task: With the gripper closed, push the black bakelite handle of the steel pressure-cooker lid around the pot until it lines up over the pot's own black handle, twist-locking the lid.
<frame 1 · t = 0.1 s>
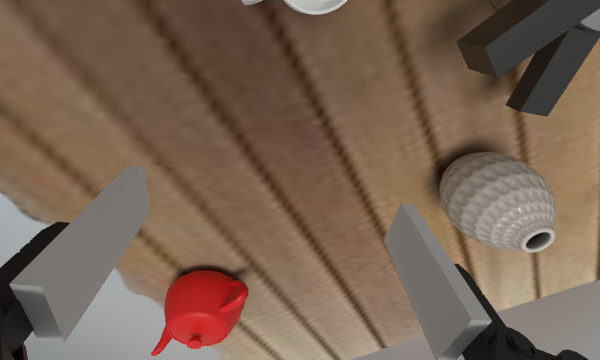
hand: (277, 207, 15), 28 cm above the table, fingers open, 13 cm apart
vase: (461, 171, 48), on the table
teapot: (207, 288, 60), on the table
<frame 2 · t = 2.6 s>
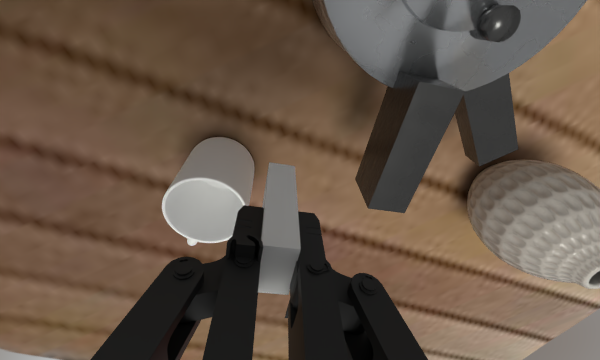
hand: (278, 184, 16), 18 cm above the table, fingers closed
vase: (491, 181, 41), on the table
cup: (218, 174, 37), on the table
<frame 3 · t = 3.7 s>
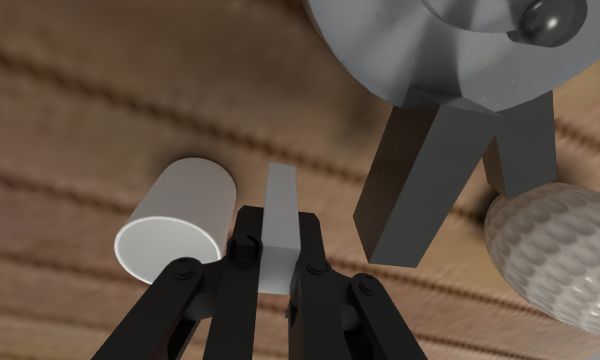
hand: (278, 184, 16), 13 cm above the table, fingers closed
vase: (511, 204, 35), on the table
cup: (195, 199, 32), on the table
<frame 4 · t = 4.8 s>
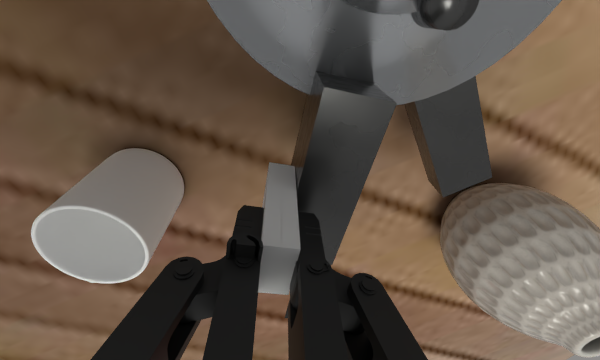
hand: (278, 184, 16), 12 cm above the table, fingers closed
vase: (470, 205, 35), on the table
cup: (143, 192, 31), on the table
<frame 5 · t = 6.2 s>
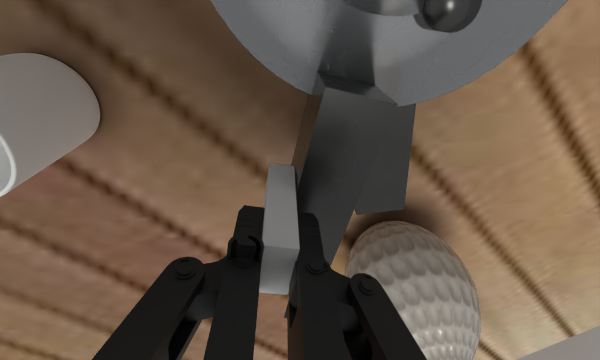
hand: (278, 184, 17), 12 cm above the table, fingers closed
vase: (383, 238, 37), on the table
cup: (46, 112, 26), on the table
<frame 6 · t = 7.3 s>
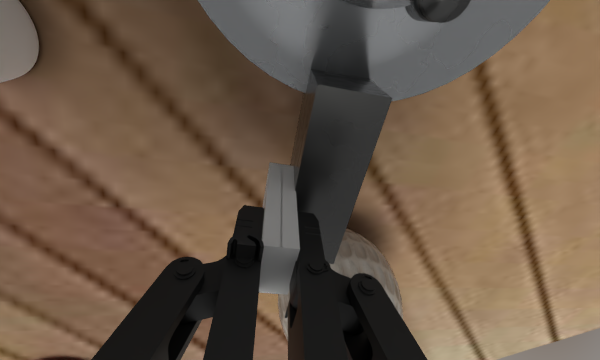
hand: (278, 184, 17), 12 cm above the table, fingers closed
vase: (327, 243, 37), on the table
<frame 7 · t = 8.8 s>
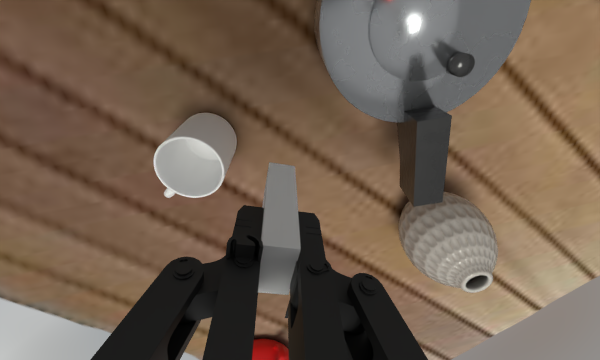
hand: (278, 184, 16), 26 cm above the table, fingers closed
vase: (422, 206, 50), on the table
cup: (203, 145, 43), on the table
lid: (427, 53, 25), point 13 cm above the table, hinge at -4.3°
teapot: (262, 350, 72), on the table
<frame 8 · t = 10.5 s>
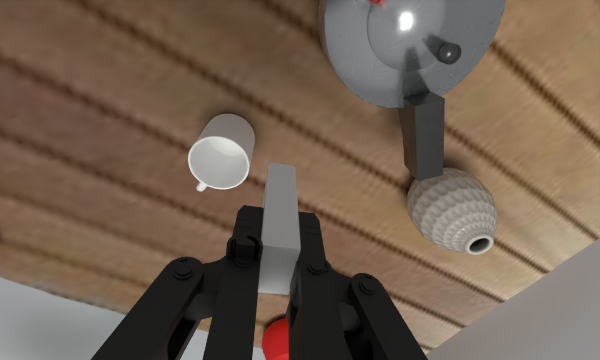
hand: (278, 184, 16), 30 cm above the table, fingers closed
vase: (428, 183, 54), on the table
pot: (381, 17, 39), on the table
cup: (225, 143, 48), on the table
lid: (419, 46, 29), point 13 cm above the table, hinge at -4.3°
teapot: (289, 329, 78), on the table
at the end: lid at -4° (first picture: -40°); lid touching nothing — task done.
